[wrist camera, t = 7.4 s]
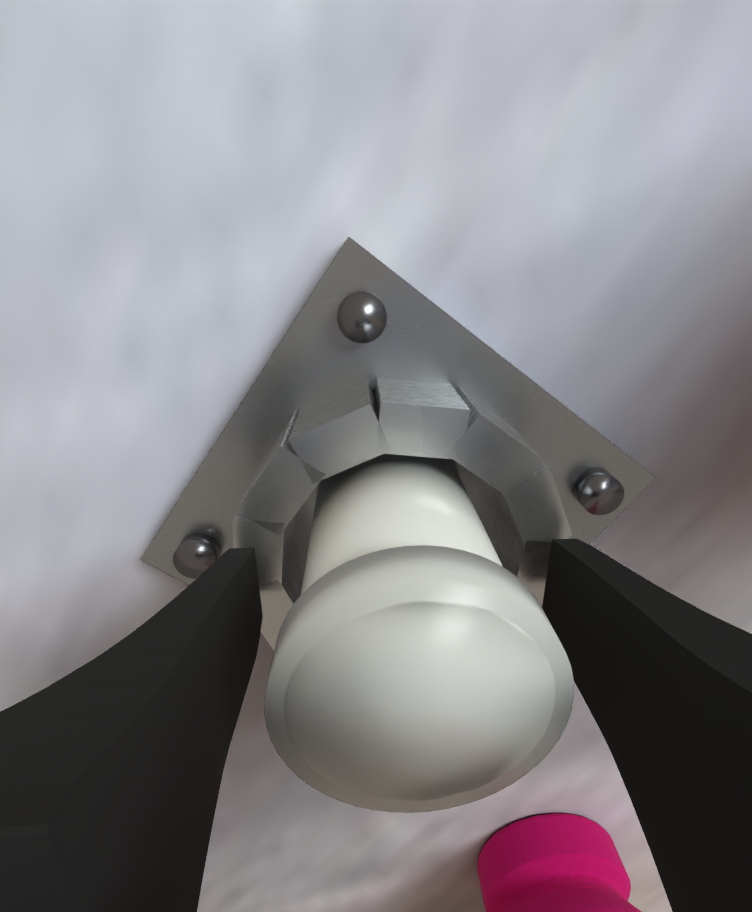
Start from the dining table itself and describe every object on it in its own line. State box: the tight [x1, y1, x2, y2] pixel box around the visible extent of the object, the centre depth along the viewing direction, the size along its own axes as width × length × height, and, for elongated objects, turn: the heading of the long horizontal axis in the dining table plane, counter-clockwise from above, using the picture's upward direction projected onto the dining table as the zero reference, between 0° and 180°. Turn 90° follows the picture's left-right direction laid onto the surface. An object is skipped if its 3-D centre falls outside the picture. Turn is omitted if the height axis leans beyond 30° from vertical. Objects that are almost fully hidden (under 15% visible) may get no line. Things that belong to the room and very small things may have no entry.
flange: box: [140, 237, 656, 651], centre depth 14 cm, size 11×11×3 cm
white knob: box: [264, 454, 574, 813], centre depth 11 cm, size 5×5×7 cm
